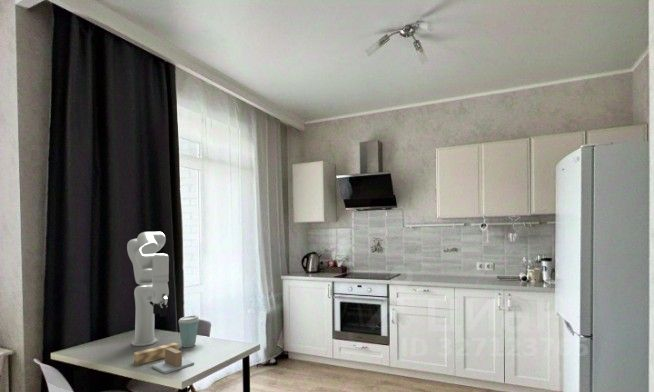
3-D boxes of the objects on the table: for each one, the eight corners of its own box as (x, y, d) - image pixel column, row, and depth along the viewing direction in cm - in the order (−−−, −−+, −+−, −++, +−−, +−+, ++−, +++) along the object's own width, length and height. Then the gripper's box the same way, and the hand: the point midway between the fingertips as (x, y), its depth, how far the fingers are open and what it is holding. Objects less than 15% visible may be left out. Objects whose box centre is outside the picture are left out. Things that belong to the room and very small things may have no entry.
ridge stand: (151, 367, 174) (152, 351, 174) (180, 358, 184) (181, 343, 185) (164, 373, 166) (165, 357, 166) (194, 364, 176) (194, 349, 177)
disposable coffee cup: (177, 349, 197) (178, 320, 198) (177, 343, 207) (178, 315, 208) (199, 347, 201) (199, 318, 202) (198, 341, 211) (198, 313, 212)
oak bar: (137, 365, 176) (137, 354, 177) (133, 363, 179) (133, 352, 179) (178, 354, 191) (178, 344, 192) (174, 352, 194) (174, 342, 194)
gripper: (146, 279, 193) (146, 313, 191) (158, 281, 180) (158, 318, 179) (162, 277, 198) (161, 311, 196) (174, 279, 185) (174, 315, 184)
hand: (160, 314), depth 188 cm, fingers open, 9 cm apart
